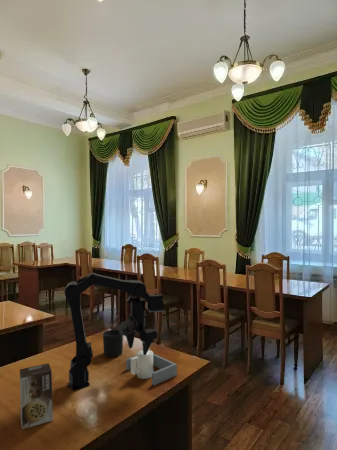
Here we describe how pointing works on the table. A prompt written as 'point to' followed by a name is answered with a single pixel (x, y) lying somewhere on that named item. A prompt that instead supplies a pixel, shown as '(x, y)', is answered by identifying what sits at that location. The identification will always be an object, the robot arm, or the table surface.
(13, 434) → the table surface
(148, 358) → the jug
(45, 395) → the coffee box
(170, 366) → the frame
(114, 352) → the pen holder
